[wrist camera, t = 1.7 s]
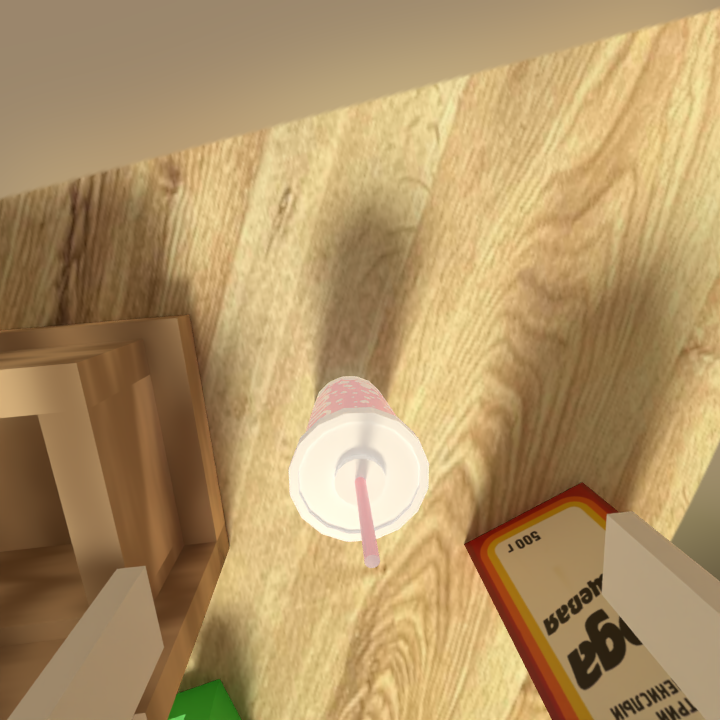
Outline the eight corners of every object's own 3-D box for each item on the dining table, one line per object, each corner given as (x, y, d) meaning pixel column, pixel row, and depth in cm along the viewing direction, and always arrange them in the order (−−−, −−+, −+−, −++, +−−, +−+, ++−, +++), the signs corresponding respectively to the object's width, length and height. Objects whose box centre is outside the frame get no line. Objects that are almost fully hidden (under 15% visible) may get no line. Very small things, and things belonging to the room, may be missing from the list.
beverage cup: (361, 345, 25) (401, 430, 11) (413, 419, 26) (504, 576, 13) (282, 399, 25) (229, 545, 12) (337, 470, 27) (347, 675, 13)
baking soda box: (500, 609, 30) (683, 966, 15) (464, 544, 29) (624, 865, 13) (613, 550, 30) (923, 852, 14) (582, 482, 28) (889, 735, 13)
